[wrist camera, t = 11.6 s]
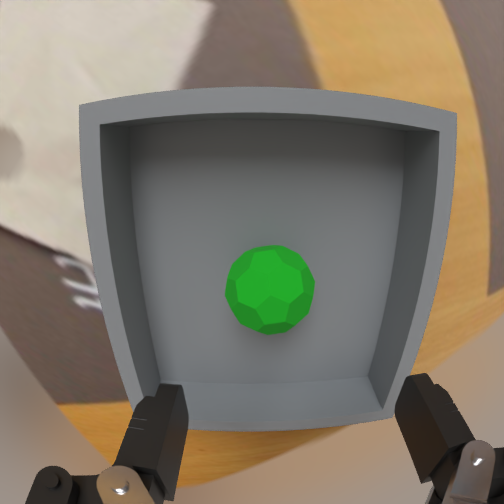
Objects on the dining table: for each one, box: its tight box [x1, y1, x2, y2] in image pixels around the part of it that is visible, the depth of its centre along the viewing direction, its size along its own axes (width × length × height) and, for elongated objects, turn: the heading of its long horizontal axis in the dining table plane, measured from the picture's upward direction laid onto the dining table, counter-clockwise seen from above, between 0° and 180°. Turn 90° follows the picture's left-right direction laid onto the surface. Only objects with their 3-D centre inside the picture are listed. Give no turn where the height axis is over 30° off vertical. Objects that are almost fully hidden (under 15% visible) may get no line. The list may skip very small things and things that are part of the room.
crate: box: [79, 87, 457, 431], centre depth 18 cm, size 19×21×5 cm
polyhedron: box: [225, 245, 315, 335], centre depth 17 cm, size 5×5×5 cm
